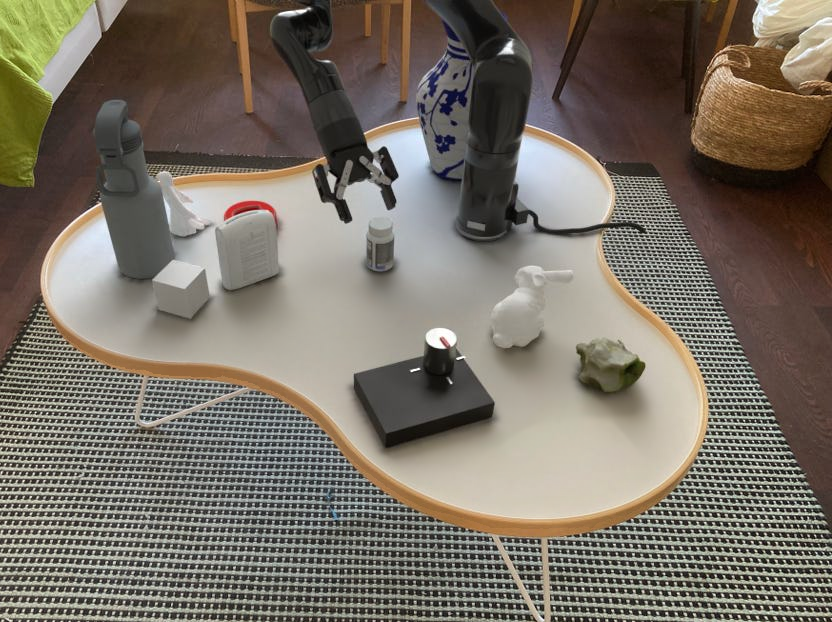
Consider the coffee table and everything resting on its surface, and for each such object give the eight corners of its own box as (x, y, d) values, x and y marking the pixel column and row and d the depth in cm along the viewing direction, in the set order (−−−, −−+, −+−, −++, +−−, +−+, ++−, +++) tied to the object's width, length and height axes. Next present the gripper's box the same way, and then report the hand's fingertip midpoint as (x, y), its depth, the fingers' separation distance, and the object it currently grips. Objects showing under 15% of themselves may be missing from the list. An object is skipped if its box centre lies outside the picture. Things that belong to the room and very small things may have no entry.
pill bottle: (397, 260, 128) (399, 219, 123) (387, 274, 125) (388, 233, 120) (372, 253, 130) (373, 212, 124) (361, 268, 127) (362, 226, 121)
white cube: (178, 289, 123) (173, 259, 118) (210, 297, 121) (205, 267, 117) (158, 309, 118) (151, 279, 114) (190, 319, 117) (184, 288, 113)
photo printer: (271, 261, 128) (265, 199, 120) (283, 274, 126) (278, 211, 117) (218, 281, 124) (208, 218, 116) (229, 294, 121) (220, 231, 113)
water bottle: (169, 282, 124) (136, 125, 105) (112, 282, 124) (68, 125, 105) (180, 248, 131) (151, 95, 112) (126, 248, 131) (87, 95, 112)
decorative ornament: (278, 214, 140) (277, 199, 137) (275, 242, 133) (274, 227, 130) (228, 214, 140) (226, 199, 137) (222, 242, 133) (220, 227, 130)
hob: (450, 353, 111) (452, 338, 109) (494, 417, 101) (497, 401, 99) (349, 380, 107) (349, 364, 104) (385, 448, 97) (385, 433, 95)
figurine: (164, 221, 138) (152, 163, 130) (206, 214, 140) (197, 156, 131) (169, 243, 132) (157, 183, 124) (213, 235, 134) (204, 176, 126)
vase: (425, 195, 144) (438, 39, 124) (401, 151, 158) (409, 3, 138) (517, 186, 147) (543, 31, 127) (485, 143, 161) (505, -3, 140)
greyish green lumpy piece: (641, 407, 104) (653, 374, 98) (573, 403, 106) (581, 371, 100) (636, 355, 110) (647, 321, 103) (571, 352, 111) (578, 318, 105)
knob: (417, 359, 105) (419, 331, 102) (444, 350, 107) (447, 322, 103) (432, 378, 102) (435, 350, 99) (459, 369, 104) (463, 341, 100)
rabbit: (511, 304, 119) (523, 242, 111) (565, 326, 115) (581, 264, 107) (475, 344, 112) (485, 282, 104) (531, 369, 108) (546, 306, 100)
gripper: (306, 125, 117) (342, 220, 118) (381, 106, 123) (415, 197, 123) (292, 143, 124) (326, 233, 125) (364, 124, 130) (396, 210, 130)
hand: (370, 215), depth 124 cm, fingers open, 8 cm apart
